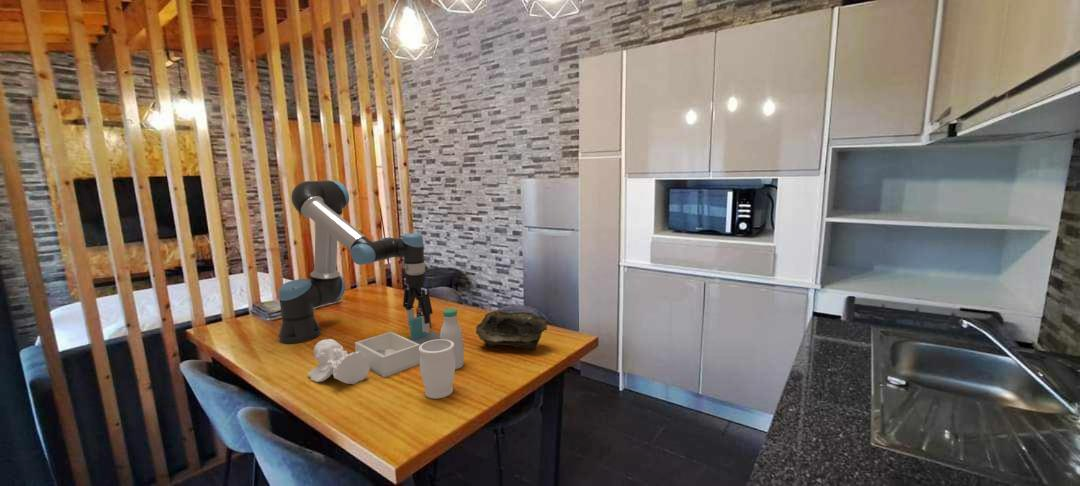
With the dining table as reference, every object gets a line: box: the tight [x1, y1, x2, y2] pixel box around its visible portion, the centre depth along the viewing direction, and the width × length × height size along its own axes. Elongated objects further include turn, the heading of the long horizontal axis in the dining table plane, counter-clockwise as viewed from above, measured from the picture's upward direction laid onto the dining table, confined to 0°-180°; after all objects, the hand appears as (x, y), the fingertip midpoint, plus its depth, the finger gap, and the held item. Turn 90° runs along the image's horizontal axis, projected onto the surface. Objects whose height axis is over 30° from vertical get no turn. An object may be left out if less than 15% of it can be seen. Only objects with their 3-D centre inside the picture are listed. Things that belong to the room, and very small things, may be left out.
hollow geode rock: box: [475, 311, 548, 350], centre depth 164 cm, size 28×13×15 cm
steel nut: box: [374, 349, 386, 356], centre depth 153 cm, size 4×4×2 cm
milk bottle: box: [439, 308, 465, 370], centre depth 147 cm, size 8×8×20 cm
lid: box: [408, 316, 464, 347], centre depth 165 cm, size 21×15×10 cm
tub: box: [354, 331, 421, 378], centre depth 151 cm, size 20×14×7 cm
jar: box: [419, 339, 456, 400], centre depth 129 cm, size 11×10×15 cm
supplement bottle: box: [415, 301, 432, 328], centre depth 187 cm, size 6×6×11 cm
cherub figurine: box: [307, 338, 370, 385], centre depth 140 cm, size 13×12×20 cm
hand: (418, 327), depth 170 cm, fingers open, 10 cm apart
